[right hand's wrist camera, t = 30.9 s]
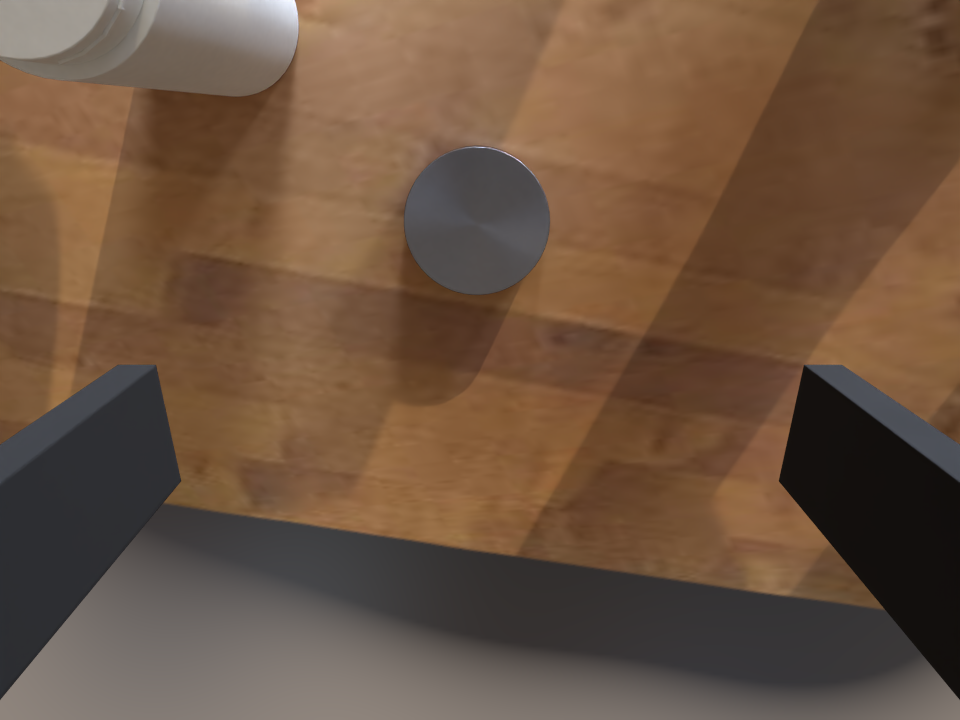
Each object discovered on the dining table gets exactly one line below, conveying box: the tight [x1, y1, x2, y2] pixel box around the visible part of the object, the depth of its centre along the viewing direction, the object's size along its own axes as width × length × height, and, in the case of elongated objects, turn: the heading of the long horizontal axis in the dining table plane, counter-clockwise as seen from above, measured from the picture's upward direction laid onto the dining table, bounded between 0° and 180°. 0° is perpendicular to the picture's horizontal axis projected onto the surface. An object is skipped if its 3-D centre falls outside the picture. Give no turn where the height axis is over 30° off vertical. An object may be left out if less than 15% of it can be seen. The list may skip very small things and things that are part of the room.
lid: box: [404, 146, 550, 295], centre depth 38 cm, size 9×9×2 cm
